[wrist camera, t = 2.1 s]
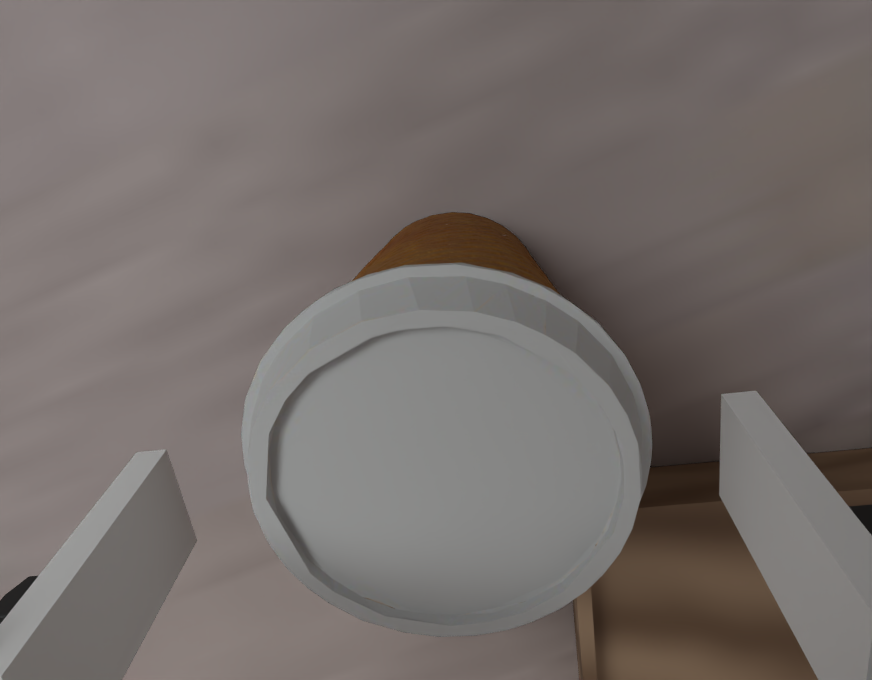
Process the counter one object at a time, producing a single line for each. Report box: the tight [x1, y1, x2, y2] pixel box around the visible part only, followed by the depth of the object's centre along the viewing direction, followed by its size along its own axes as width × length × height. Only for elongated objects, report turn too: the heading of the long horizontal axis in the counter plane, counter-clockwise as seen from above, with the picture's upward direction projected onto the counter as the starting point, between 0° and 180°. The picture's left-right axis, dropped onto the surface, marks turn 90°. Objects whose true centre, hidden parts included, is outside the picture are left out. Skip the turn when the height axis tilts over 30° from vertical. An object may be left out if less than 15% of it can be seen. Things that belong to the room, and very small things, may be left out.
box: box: [573, 448, 872, 680], centre depth 31 cm, size 17×17×2 cm
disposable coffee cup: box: [241, 212, 652, 637], centre depth 21 cm, size 10×10×12 cm
